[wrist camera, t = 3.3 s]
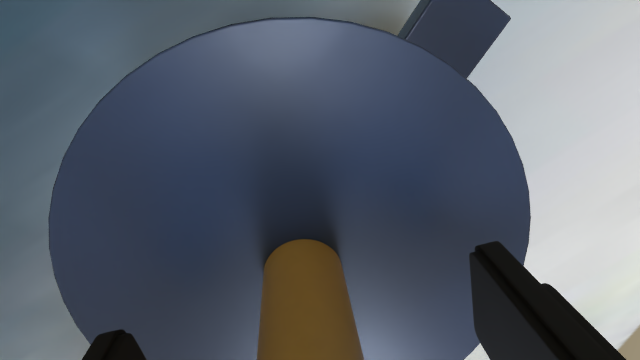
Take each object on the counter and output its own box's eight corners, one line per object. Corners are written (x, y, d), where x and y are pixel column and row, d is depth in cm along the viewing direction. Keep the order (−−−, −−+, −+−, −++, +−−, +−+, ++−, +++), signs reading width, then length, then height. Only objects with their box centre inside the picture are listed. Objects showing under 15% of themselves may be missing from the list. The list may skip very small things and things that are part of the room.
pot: (110, 233, 23) (-10, 382, 14) (271, -86, 18) (256, -214, 8) (309, 319, 27) (323, 480, 18) (491, 81, 22) (656, 128, 12)
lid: (4, 324, 14) (-222, 568, 8) (195, -117, 9) (23, -387, 3) (355, 442, 18) (392, 657, 12) (600, 181, 13) (859, 312, 7)
